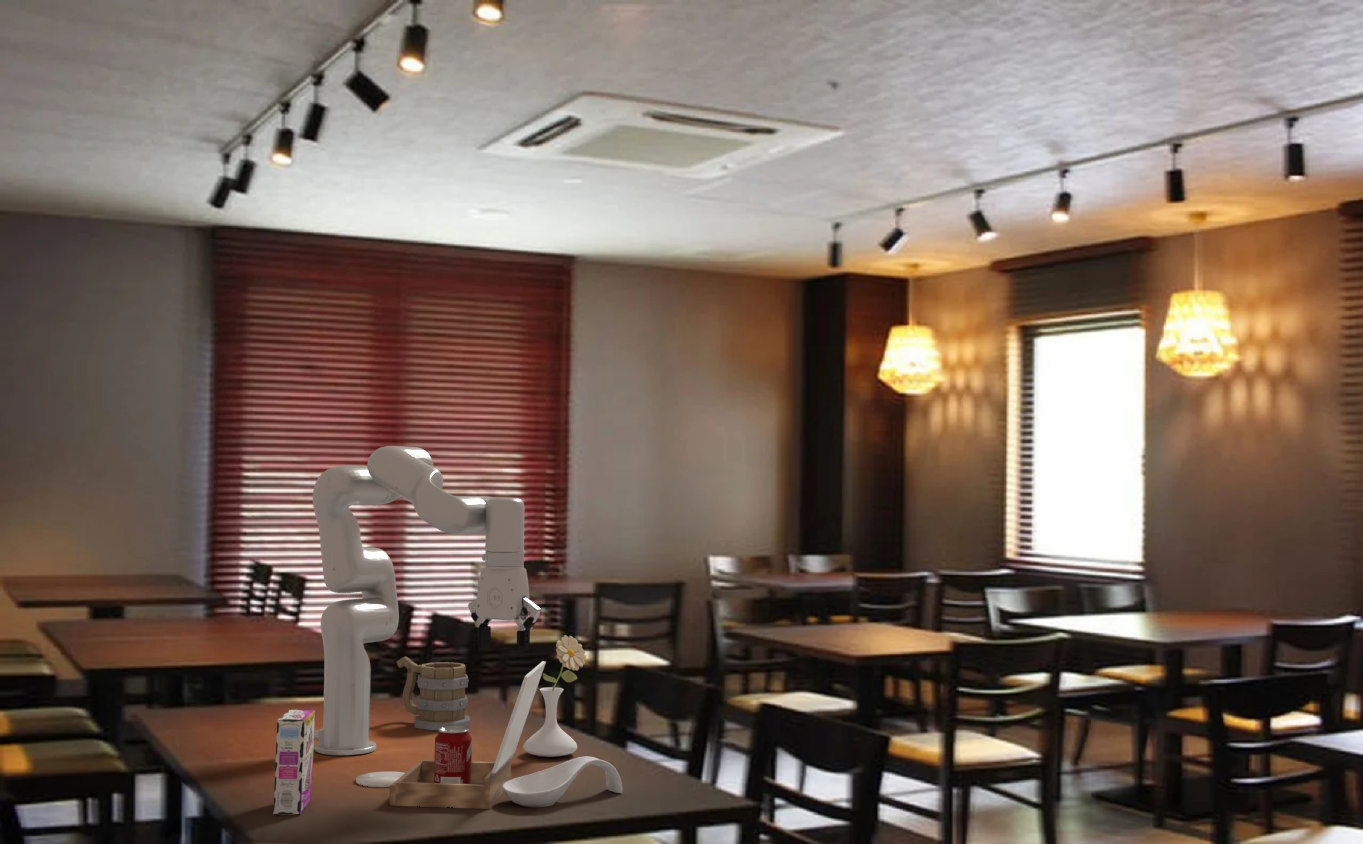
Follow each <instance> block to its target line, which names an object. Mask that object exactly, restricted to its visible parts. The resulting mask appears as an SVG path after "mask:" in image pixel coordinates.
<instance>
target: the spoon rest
mask: <svg viewBox="0 0 1363 844" xmlns="http://www.w3.org/2000/svg"><path fill="white" fill-rule="evenodd" d="M588 766H598V767H600V769H602V770H603V771H604V774H605V788H606V790H608V791H610V792H613V793H616V794H622V793H623V782H622V778H621V776H620V774H619V772H618V771H617V769H616V767H615V766H614V765H613V764H611V763H610V762H608V761H606V760H603V759H599V758H597V757H596V756H595V757H593V756H590V755H589V756H588V755H585V756H579V757H575V758H572V759H570V760H566V761H564V762H561V763H559V764H556V765H553V766H552V767H548V768H546V769H542V770H539V771H536V772H533V773H531V774H526V775H522V776H519V777H515V778H512V779H511V780H509V781H507V782H505V783H504V784H503V785H502V790H503V793H504V794H505V796H506V797H507V798H508V799H509V800H510V801H512V802H513V803H515V804H517V805H519V806H523V807H525V808H526V807H527V808H544V807H545V808H546V807H550V806H553V805H555V803H556V802H557V801H558V800H559V799H561V797H562V796H564V794H565V793H566V792H567V790H568V789H569V787H570V786H571V784H572V783H573V782H574V780H575V779H576V778H577V776H578V775H579V774H580V773H581V772H582V771H583V770H584V769H585V768H586V767H588Z"/></svg>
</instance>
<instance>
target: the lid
mask: <svg viewBox="0 0 1363 844" xmlns="http://www.w3.org/2000/svg"><path fill="white" fill-rule="evenodd" d="M546 663H547V661H544V660H542V661H541V662H540V663H538V665H536V666H535V667H534V668H532V670H530V671H529V672H528V673H527V674H526V675H524V678H523V681H522V683H521V687H520V689H519V693H518V695H517V697H516V700H515V704H514V707H513V710H512V712H511V716H510V718H509V721H508V724H507V727H506V729H505V733H504V736H503V739H502V742H501V745H500V746H499V750H498V752H497V756H496V759H495V761H494V762H495V764H494V767H493V770H492V773H491V774H490V777H491V778H494V777H495V776H496V775H497V773H498V772H499V771H500V770H501V769H502V768H503V767H504V766H505V765H506V763H507V762H508V761H509V760H510V759H511V760H512V758H513V757H514V756H515V752H516V750H517V747H518V744H519V742H520V738H521V736H522V733H523V729H524V727H525V724H526V721H527V718H528V715H529V712H530V710H531V707H532V704H533V700H534V697H535V695H536V692H537V690H538V687H539V683H540V680H541V677H542V676H543V673H544V672H543V671H544V669H545V666H546Z"/></svg>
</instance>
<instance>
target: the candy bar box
mask: <svg viewBox="0 0 1363 844" xmlns="http://www.w3.org/2000/svg"><path fill="white" fill-rule="evenodd" d="M315 715H316V710H314V709H313V710H311V709H288V711H286V712H285V713H284V714H283V715H282V716H280V717H279V718H278V719H277V720H276V740H275V760H274V761H275V763H274V764H275V766H274V786H273V787H274V788H273V789H274V790H273V792H274V793H273V809H272V810H273V812H272V815H274V814H300V815H302V813H303V812H304V810H305V809H306V808H307V807H308V805H309V804H310V803H311V801H312V798H313V797H312V796H313V795H312V794H313V771H314V769H313V767H314V750H315V740H314V730H315V721H316V716H315ZM309 802H310V803H309ZM305 807H306V808H305ZM302 811H303V812H302Z"/></svg>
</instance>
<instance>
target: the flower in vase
mask: <svg viewBox="0 0 1363 844" xmlns="http://www.w3.org/2000/svg"><path fill="white" fill-rule="evenodd" d="M555 647H556V648H555V652H556V654H557V655H556V659H558V660H559V662H560V663H561V664H562V665H561V668H560V672H559V673H558V676H557V678H555V677H554V676H550V675H547V674H546V673H545V672H542V677H543V680H545V681H547V682H551V683H553V686H552V687H551V686H550V687H542V688H539V691H540V693H541V695H542V696H543V698H544V704H545V721H544V723H543V725H542V727H541V728H539V729H538V730H537V731H536V732H535V733H534V734H533V735H531V736H530V737H529V738H528V739H527V740H526V741H525V742H524V744H523V747H522V748H523V750H524V751H525V752H526V753H527V754H530V755H532V756H537V757H546V758H556V757H562V756H563V757H565V756H568V755H571V754H572V753H575V752H576V751H577V749H578V745H577V742H576V741H575V740H574V739H573V738H572V737H571V736H570V735H569V734H567V732H565V731H564V730H563V729H562V728H561V727H560V726H559V724H558V721H557V711H558V710H557V708H558V702H559V698H560V696H561V695H562V693H563V692H564V688H562V687H556V685H557V683H558V681H559V679H560V677H561V679H563V681H565V682H567V683H572V682H574V681H576V680H577V679H578V676H577V675H576V674H575V673H574V672H573V671H579V669H580V668H583V666H584V665H586V661H585V659H587V655H586V654H585V652H586V651H585V650H584V649H583V645H582V644H581V643H579V641H578V639H577V638H575V637H573V636H571V635H569V636H567V635H566V634H565V635H563V637H561V639H558V640H557V642H556V644H555ZM564 668H567V669H568V670H567V669H566V670H565V671H563V670H564ZM570 670H572V671H570Z"/></svg>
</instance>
